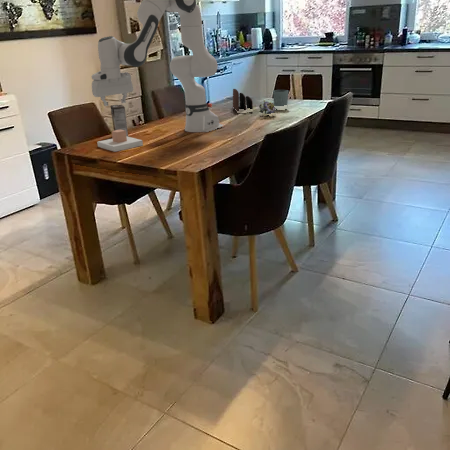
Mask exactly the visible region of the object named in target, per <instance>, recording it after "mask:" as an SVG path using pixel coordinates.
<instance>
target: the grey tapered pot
mask: <svg viewBox="0 0 450 450" xmlns="http://www.w3.org/2000/svg"><path fill="white" fill-rule="evenodd" d="M289 93H290V92H289V90H288V89H276V90H272V95H273V104H274V106H284V105H287V106H288V102H289V98H288V97H289Z"/></svg>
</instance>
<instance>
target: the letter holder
mask: <svg viewBox="0 0 450 450" xmlns="http://www.w3.org/2000/svg"><path fill="white" fill-rule="evenodd" d="M246 105H247V108H250V109H253V108H254V107H253V105H254V104H253V99H252V98H251V97H250V96H249V95H245V94H244V93H242V92H239V90H238V89H236V88H233V89H232V108H233V107H234V108H235V109H236V110H237V111H239V109H244V110H246ZM253 110H254V109H253Z"/></svg>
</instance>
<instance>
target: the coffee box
mask: <svg viewBox="0 0 450 450" xmlns="http://www.w3.org/2000/svg"><path fill="white" fill-rule="evenodd" d="M109 106H110V113H111V120H112V126H113V128H112V129H113V131H115V130H120V129H121V130H125V131H126V136H128V137H129V132H128V131H129V130H128V123H127V115H126V107H125V106H124V105H123V104H112V105H109Z"/></svg>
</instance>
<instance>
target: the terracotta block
mask: <svg viewBox="0 0 450 450" xmlns="http://www.w3.org/2000/svg"><path fill="white" fill-rule="evenodd" d="M111 137H112V138H111V139H113V141H114V142H117V143H119V142H124V141H127V137H126V131H125V130H121V129H120V130H115V131H114V130H112V131H111Z"/></svg>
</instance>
